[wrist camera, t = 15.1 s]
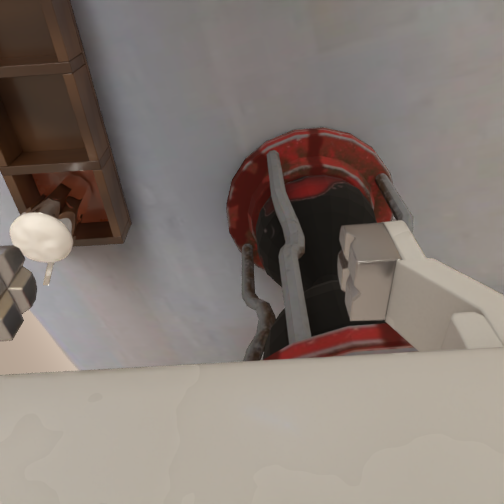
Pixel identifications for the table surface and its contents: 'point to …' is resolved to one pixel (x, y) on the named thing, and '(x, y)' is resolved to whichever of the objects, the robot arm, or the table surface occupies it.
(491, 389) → the robot arm
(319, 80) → the table surface
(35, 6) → the compartment tray
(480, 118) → the table surface
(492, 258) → the table surface
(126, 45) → the table surface
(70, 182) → the milkshake
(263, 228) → the hourglass
